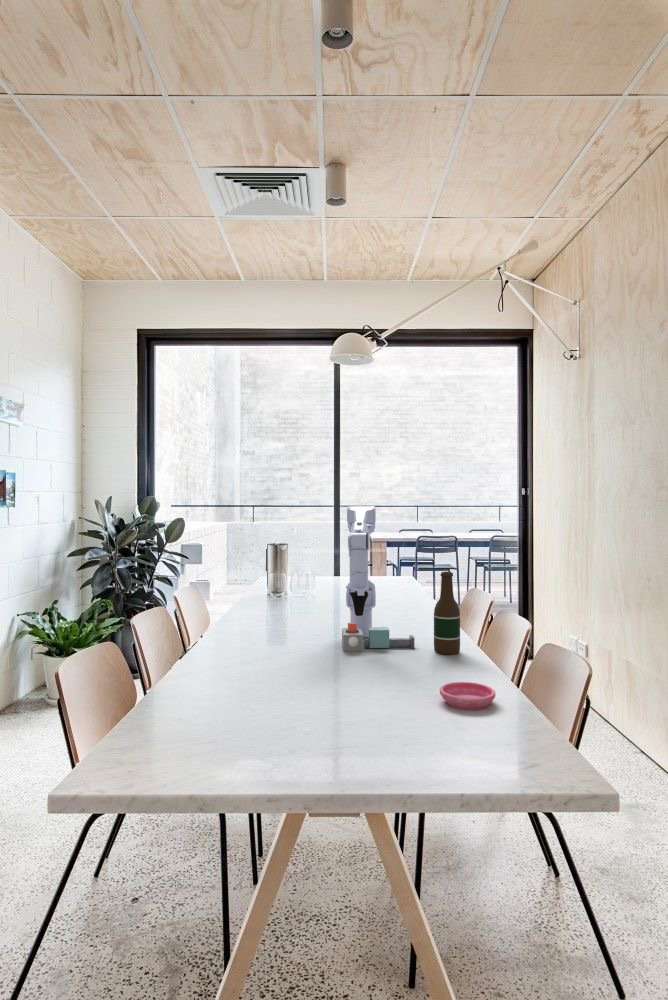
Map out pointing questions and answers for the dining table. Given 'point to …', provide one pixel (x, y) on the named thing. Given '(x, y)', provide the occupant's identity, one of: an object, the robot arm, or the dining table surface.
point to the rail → (397, 642)
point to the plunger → (352, 627)
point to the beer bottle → (447, 619)
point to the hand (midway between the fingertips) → (359, 615)
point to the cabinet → (352, 640)
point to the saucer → (467, 695)
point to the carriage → (379, 637)
